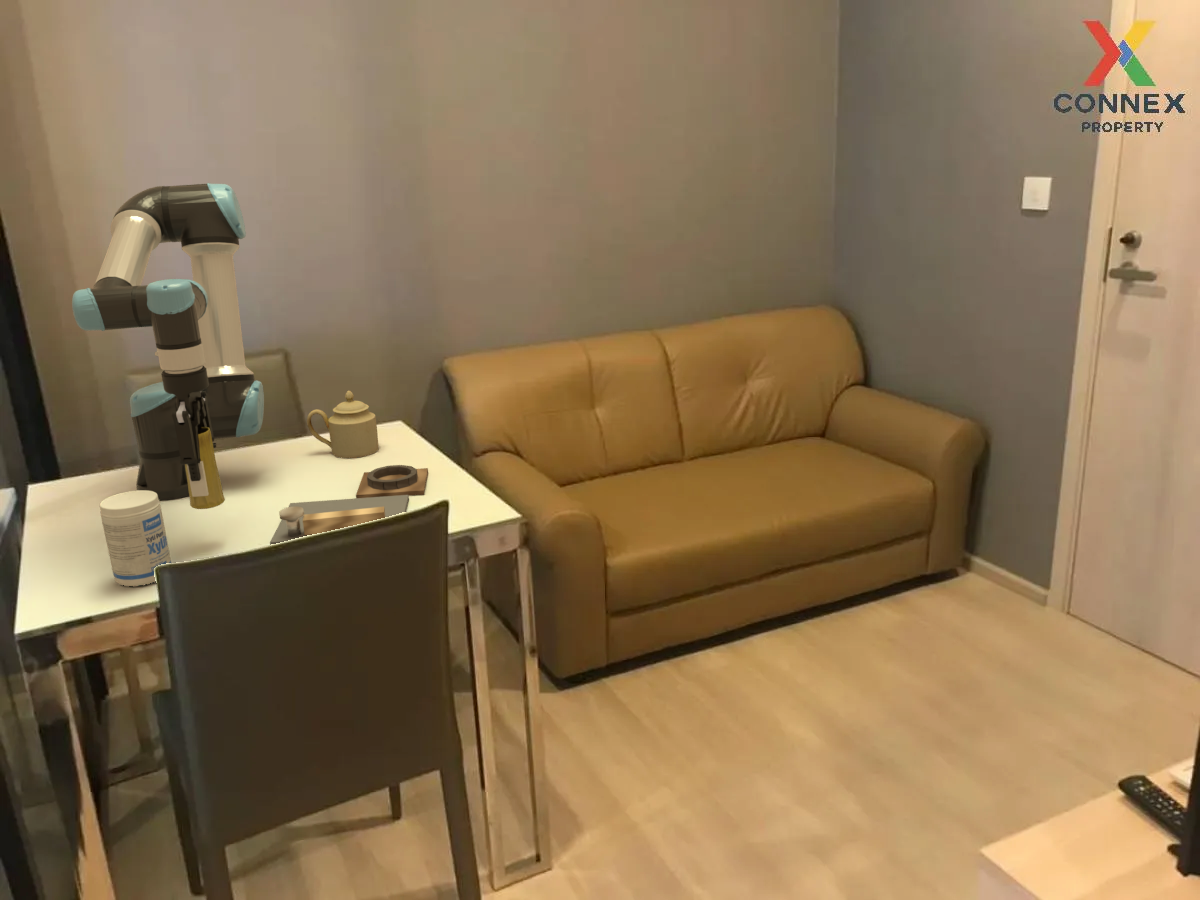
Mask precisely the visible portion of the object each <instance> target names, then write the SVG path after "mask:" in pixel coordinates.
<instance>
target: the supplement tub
mask: <svg viewBox="0 0 1200 900" xmlns="http://www.w3.org/2000/svg"><path fill="white" fill-rule="evenodd" d="M99 508H100V518H101V522H102V527H103V531H104V537H105V541H106V545H107V551H108V555H109V561H110V565H111V570H112V574H113V578H114V581H115V582H116V583H117V584H118V585H120V586H123V585H124V586H123V587H129V586H133V587H139V586H138V585H143V586H145V585H144V584H147V585H151V584H153V583H152V582H154V583H156V582H155V577H154V568H155V567H156V566H158V565H161V564H166V563H171V564H172V559H171V553H170V550H169V549H170V548H169V544H168V537H167V533H166V527H165V523H164V517H163V512H162V506H161V500H159V499H158V495H157V493H155V492H153V491H147V490H138V491H137V490H129V491H125V492H120V493H116V494H113V495H111V496H108V497H106V498H104V499H103V500H102V501H101V502H100V503H99ZM150 583H151V584H150Z"/></svg>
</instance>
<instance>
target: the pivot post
mask: <svg viewBox="0 0 1200 900" xmlns="http://www.w3.org/2000/svg"><path fill="white" fill-rule="evenodd" d="M286 524H287V531H288V536H290V537H296V536H299V535H301V528H300V521H299V518H298V519H295V520H286Z"/></svg>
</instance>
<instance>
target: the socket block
mask: <svg viewBox="0 0 1200 900" xmlns="http://www.w3.org/2000/svg"><path fill="white" fill-rule="evenodd" d="M428 475H429V468H428V467H424V468H415V467H413V466H411V465H405V464H393V465H386V466H381V467H378V468H375V469H373V470H371V471H365V472H363V474H362V477H361V479H360V482H359V485H358V488H357V490H356V491H357V492H356V494H355V498H369V497H383V496H397V495H408V496H409V497H412V496H423V495H425V492H426V486H427V480H428Z"/></svg>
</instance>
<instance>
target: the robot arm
mask: <svg viewBox="0 0 1200 900" xmlns="http://www.w3.org/2000/svg"><path fill="white" fill-rule="evenodd" d="M240 206H241V205H240V203H239V200H238V197H237V195H236V193H235V190H234V189H233V188H232V187H231V186H230V185H229V184H226V183H211V182H210V183H209V182H207V183H197V184H195V183H194V184H183V185H182V184H180V185H166V186H165V185H159V186H153V187H150V188H146V189H144V190H141V191H140V192H138V193H136V194H134V195H133V196H132V197H130V198H129V199H128V200H127V201H125V202H124V203H123V204H122V205H121V206H120V207H119V208H118V209H117V210H116V212H115V214H114V215H113V218H112V220H111V223H110V234H111V239H110V242H109V245H108V247H107V250H106V254H105V256H104V259H103V261H102V263H101V265H100V269H99V272H98V275H97V277H96V280H95V283H94V285H93V287H92V288H91V287H87V288H85V289H84V288H83V289H78V290H75V291H74V293H73V295H72V300H71V306H72V313H73V317H74V319H75V323H76V324H77V326H78V327H79V328H80V329H81V330H83V331H89V332H91V331H102V332H105V331H110V330H111V331H112V330H122V329H123V330H124V329H135V328H137V329H138V328H149V327H150V328H151V327H152V330H153V337H154V340H155V347H156V351H155V352H154V356H155V357H157V358H158V362H159V367H160V370H162V372H161V373H160V374H161V375H160V376H161V380H162V381H160V382H156V383H151V384H149V385H147V386H143V387H141V388H139V389H137V390H135V391H134V392H133V393H132V394H131V396H130V397H129V405H130V417H131V419H132V423H133V424H132V425H133V428H134V429H133V430H134V434H135V439H136V444H137V449H138V454H139V455H138V456H139V460H140V461H139V465H138V466H139V467H138V470H137V471H138V472H137V478H136V491H138V490H147V491H153V492H155V493H157V495H158V499H159V501H166V500H174V499H180V498H181V499H182V498H186V497H188V496H189V490H188V481H187V475H186V468H185V464H186V465H187V470H188V476H189V481H190V486H191V492H192V497H197V496H208V495H209V493H208V487H207V482H206V476H205V471H204V465H203V461H201V459H200V449H199V438H198V430H201V429H203V428H201V427H208V428H210V431H211V436H212V442H213V448H214V449H216V448H217V442H215V440H219V439H229V438H241V437H247V436H252V435H253V436H254V435H256V434H257V433H259V432H260V430H261V428H262V425H263V420H264V413H265V412H264V409H265V393H264V385H263V383H262V381H260V380H258V379H257V380H255V373H254V372H253V371H252V370H251V369H249V368H248V367H247V366H246V365H247V364H246V359H245V348H244V343H243V332H242V324H241V317H240V316H241V314H240V306H239V305H240V304H239V298H238V296H239V295H238V290H237V289H238V288H237V281H236V280H237V279H236V273H235V271H236V270H235V263H234V262H235V261H234V255H235V253H236V252H237V251H239V249H240V240H242V239H244V238H246V234H247V232H246V225H245V221H244V217H243V213H242V209H241V207H240ZM164 243H181V245H180V246H181V250H182V251H183V252H184V253H185V254H187V255H188V256H189V257H190V265H191V273H192V274H191V275H192V279H188V278H187V279H186V278H185V279H184V278H173V279H172V278H170V279H169V278H168V279H162V280H156V281H154V282H150V283H148V284H144V285H143V284H142V283H143V280H144V277H145V274H146V270H147V267H148V264H149V261H150V259H151V258H150V257H151V254H152V251H154V250H156V249H157V247H158V246H159V245H160V244H164ZM189 497H190V496H189Z"/></svg>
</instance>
